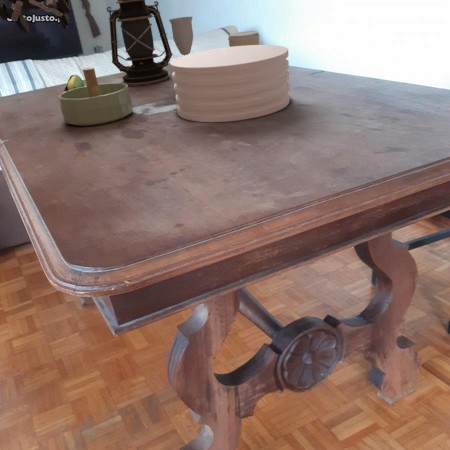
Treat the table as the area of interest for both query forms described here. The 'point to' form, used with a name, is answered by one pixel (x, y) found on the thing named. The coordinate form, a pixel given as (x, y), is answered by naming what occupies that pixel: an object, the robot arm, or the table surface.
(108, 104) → the bowl
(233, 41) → the coffee cup
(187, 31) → the chalice
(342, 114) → the table surface
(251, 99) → the plate stack
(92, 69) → the pestle
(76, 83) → the edible corn
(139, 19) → the lantern
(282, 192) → the table surface
